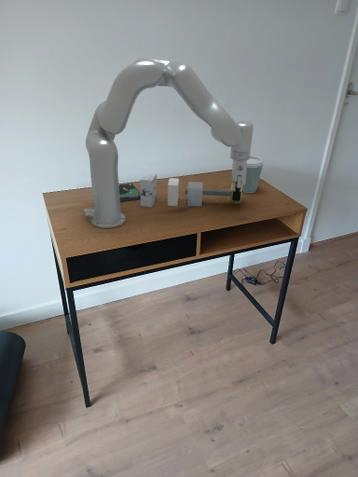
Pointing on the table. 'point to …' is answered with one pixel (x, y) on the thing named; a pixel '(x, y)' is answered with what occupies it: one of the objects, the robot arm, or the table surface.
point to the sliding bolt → (221, 193)
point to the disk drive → (128, 193)
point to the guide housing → (195, 194)
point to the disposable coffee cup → (252, 174)
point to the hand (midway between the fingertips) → (235, 197)
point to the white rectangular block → (173, 192)
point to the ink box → (148, 189)
